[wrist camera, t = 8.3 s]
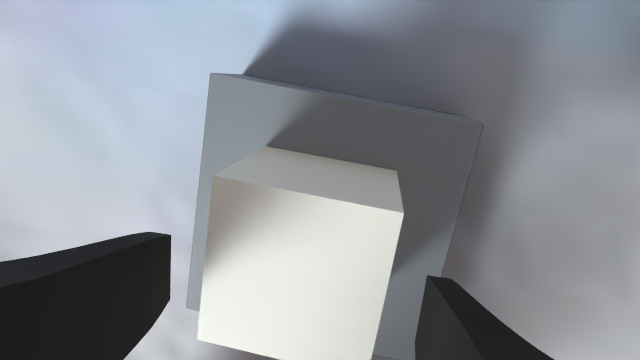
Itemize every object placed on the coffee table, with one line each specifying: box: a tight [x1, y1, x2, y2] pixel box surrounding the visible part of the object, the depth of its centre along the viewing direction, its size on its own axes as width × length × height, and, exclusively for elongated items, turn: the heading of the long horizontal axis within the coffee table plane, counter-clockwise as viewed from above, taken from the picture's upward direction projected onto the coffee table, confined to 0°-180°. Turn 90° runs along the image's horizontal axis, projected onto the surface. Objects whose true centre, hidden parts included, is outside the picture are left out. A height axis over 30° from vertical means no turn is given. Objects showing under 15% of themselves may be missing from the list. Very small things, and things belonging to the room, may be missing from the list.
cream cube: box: [197, 146, 404, 360], centre depth 13 cm, size 5×5×5 cm
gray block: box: [186, 73, 483, 360], centre depth 18 cm, size 10×10×4 cm
